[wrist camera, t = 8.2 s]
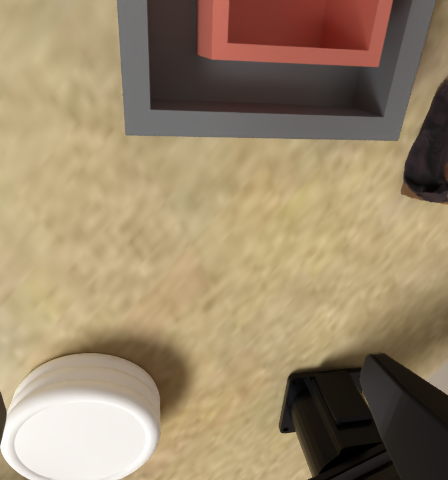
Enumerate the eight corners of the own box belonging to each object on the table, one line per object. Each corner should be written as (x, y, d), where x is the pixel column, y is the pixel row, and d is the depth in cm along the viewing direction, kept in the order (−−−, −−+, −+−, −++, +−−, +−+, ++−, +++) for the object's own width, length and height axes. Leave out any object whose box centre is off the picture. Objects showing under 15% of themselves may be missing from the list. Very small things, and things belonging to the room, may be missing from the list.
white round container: (132, 452, 31) (130, 497, 28) (0, 435, 27) (-19, 485, 24) (180, 365, 27) (184, 407, 24) (35, 333, 24) (17, 377, 21)
